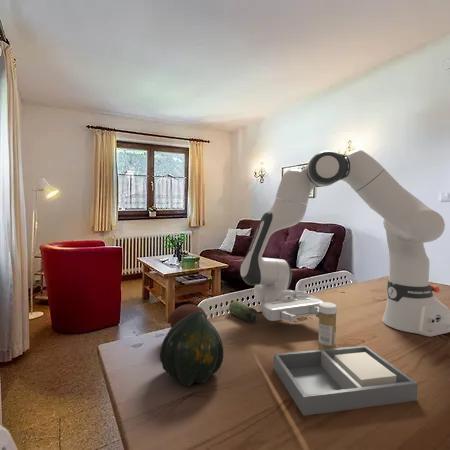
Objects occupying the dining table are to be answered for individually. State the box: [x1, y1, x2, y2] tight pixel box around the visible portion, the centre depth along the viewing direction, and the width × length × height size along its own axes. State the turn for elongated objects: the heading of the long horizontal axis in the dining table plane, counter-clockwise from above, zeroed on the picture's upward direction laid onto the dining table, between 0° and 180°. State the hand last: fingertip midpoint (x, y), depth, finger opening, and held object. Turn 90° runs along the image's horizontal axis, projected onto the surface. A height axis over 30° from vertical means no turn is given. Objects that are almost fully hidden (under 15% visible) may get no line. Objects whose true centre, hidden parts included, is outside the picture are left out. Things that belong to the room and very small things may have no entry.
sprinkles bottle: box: [318, 301, 338, 350], centre depth 78 cm, size 5×5×14 cm
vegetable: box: [228, 300, 259, 324], centre depth 104 cm, size 14×5×5 cm, turn 35°
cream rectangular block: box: [334, 352, 396, 387], centre depth 65 cm, size 8×10×4 cm
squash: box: [159, 311, 224, 387], centre depth 69 cm, size 14×15×15 cm
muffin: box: [167, 304, 208, 329], centre depth 87 cm, size 12×11×10 cm
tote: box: [273, 345, 419, 417], centre depth 64 cm, size 24×16×4 cm, turn 100°
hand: (308, 317), depth 86 cm, fingers open, 8 cm apart
